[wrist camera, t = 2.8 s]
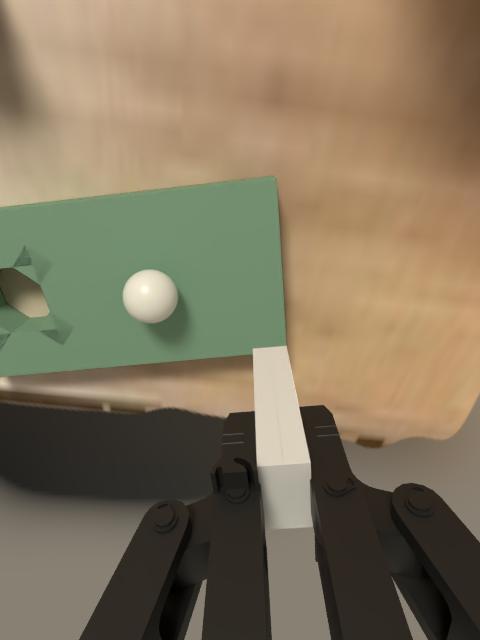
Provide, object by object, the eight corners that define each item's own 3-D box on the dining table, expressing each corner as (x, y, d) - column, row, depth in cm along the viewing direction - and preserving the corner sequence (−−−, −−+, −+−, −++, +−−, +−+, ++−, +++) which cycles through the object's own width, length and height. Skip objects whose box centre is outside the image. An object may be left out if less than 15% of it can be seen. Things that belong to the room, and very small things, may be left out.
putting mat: (-2, 361, 35) (-23, 378, 32) (-71, 215, 29) (-103, 222, 26) (283, 334, 34) (286, 351, 31) (273, 175, 28) (276, 178, 25)
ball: (137, 312, 29) (123, 335, 26) (125, 265, 28) (108, 283, 24) (185, 307, 29) (177, 330, 26) (176, 260, 27) (166, 277, 24)
